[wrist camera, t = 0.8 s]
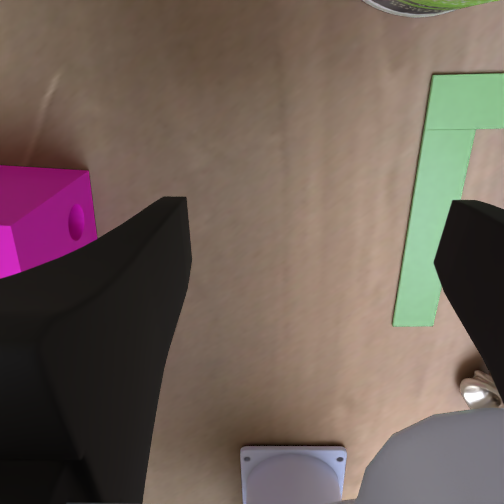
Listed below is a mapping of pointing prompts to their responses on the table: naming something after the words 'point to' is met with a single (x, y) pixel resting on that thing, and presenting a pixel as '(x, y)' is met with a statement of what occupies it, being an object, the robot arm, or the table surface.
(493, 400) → the ornament
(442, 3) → the coffee can
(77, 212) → the toy block
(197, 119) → the table surface
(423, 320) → the tape bay
